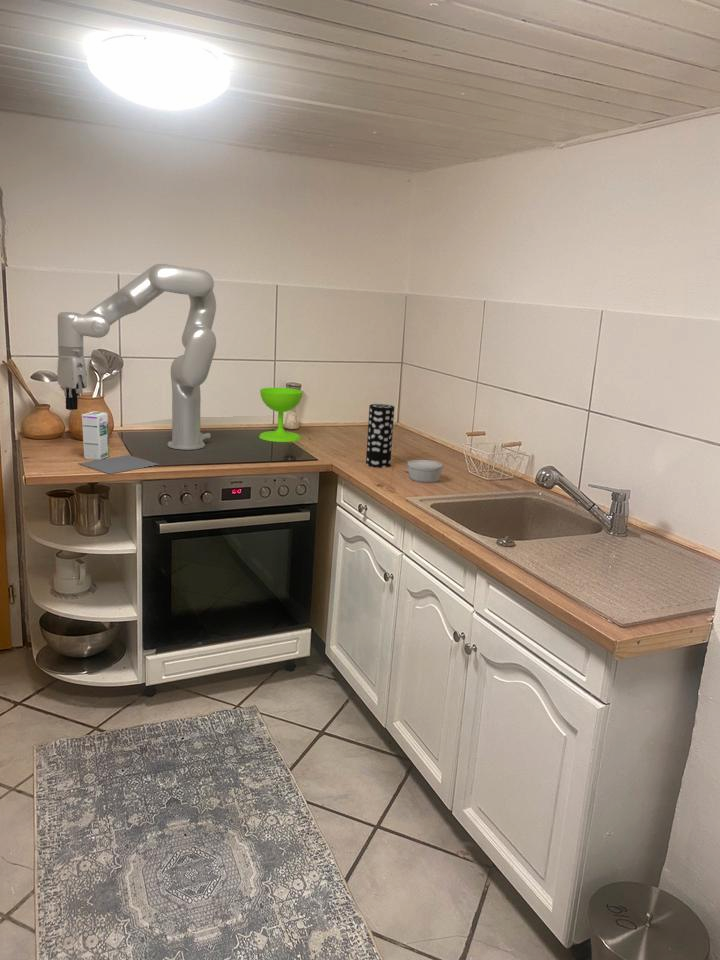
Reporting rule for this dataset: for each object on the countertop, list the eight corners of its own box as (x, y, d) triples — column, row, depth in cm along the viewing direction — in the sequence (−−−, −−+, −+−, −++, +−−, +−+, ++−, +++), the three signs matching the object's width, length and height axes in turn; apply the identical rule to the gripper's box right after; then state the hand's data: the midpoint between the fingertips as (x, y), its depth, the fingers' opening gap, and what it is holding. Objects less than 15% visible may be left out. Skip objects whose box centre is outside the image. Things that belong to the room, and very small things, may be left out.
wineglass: (250, 435, 287) (251, 388, 282) (284, 432, 297) (285, 386, 293) (275, 443, 275) (277, 394, 271) (309, 439, 286) (311, 392, 281)
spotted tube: (373, 468, 247) (377, 408, 242) (361, 462, 254) (365, 404, 249) (394, 467, 250) (399, 407, 245) (382, 461, 258) (386, 403, 253)
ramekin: (419, 473, 245) (420, 457, 243) (448, 480, 238) (449, 464, 236) (399, 478, 236) (400, 462, 235) (428, 486, 229) (429, 469, 228)
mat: (128, 455, 243) (128, 455, 243) (159, 465, 234) (159, 464, 234) (78, 464, 229) (78, 463, 229) (109, 474, 220) (109, 473, 220)
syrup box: (100, 460, 235) (98, 415, 232) (83, 458, 236) (81, 413, 233) (109, 456, 241) (108, 412, 237) (92, 454, 242) (91, 410, 238)
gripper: (95, 354, 236) (95, 412, 240) (68, 349, 245) (69, 405, 249) (73, 355, 230) (74, 413, 235) (46, 349, 239) (48, 406, 243)
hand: (71, 409), depth 242 cm, fingers closed
